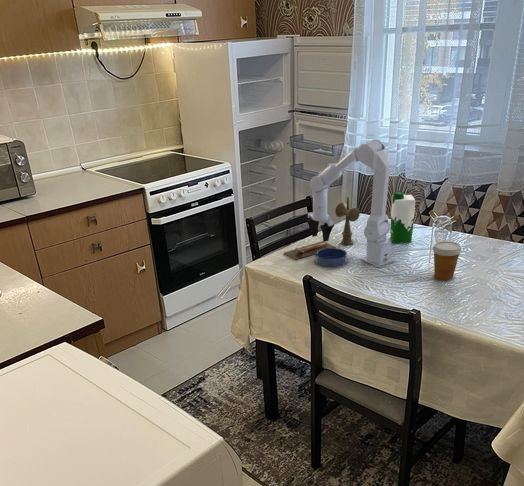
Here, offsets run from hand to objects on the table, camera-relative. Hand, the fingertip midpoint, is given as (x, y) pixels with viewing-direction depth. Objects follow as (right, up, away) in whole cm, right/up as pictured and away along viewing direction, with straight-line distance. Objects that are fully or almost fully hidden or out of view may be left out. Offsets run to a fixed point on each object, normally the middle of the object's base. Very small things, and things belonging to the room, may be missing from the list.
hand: (320, 238), depth 222 cm
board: (-4, -6, 0) cm, 7 cm away
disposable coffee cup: (+41, -20, -28) cm, 54 cm away
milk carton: (+35, 0, +5) cm, 35 cm away
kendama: (+12, -1, +5) cm, 13 cm away
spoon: (-5, -6, 0) cm, 8 cm away
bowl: (+3, -11, -10) cm, 16 cm away
